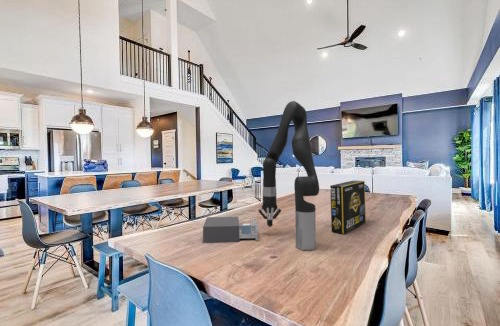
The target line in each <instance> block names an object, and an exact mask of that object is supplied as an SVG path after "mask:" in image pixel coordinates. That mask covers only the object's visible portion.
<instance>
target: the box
mask: <svg viewBox="0 0 500 326" xmlns="http://www.w3.org/2000/svg"><path fill="white" fill-rule="evenodd" d="M365 183H366V182H365V180H349V181H345V182H344V181H343V182H341V183H336V184H332V185H329V186H330V187H329V188H330V214H331V215H330V218H331V221H330V222H331V232H332V233H336V234H338V235H339V234H341V235H346V234H347V233H349V232H351V231H353V230H355V229H356V228H358V227H360V226H362V225H364V224H365V223H366V222H367V218H366V217H367V216H366V215H367V214H366V213H367V212H366V186H365Z"/></svg>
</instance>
